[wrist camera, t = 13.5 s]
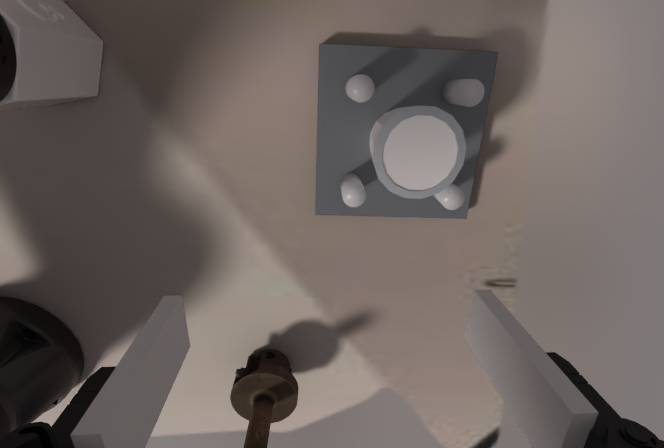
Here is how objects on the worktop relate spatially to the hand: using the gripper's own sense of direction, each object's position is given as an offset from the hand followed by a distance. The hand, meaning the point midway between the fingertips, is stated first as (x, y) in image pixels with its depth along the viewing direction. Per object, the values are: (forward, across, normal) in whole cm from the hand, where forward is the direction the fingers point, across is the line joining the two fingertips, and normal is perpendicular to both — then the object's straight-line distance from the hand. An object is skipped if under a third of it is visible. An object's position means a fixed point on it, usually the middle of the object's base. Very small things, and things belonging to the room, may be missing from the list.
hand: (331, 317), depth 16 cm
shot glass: (+19, +7, +5) cm, 21 cm away
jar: (+22, -22, +12) cm, 33 cm away
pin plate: (+20, +7, +5) cm, 22 cm away
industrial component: (+21, -6, -21) cm, 31 cm away
